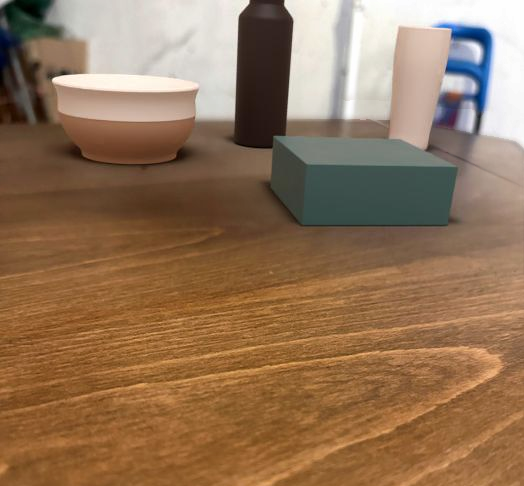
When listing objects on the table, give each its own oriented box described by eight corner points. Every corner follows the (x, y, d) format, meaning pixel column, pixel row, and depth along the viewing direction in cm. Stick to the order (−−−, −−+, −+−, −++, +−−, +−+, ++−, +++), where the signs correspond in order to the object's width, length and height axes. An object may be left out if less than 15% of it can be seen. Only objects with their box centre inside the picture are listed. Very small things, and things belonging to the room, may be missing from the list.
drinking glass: (436, 149, 92) (457, 29, 85) (426, 156, 86) (447, 28, 80) (389, 143, 94) (405, 25, 88) (375, 149, 89) (391, 25, 82)
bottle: (226, 144, 86) (231, -34, 77) (244, 137, 92) (251, -29, 83) (276, 150, 85) (287, -31, 76) (291, 142, 90) (303, -27, 81)
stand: (393, 189, 69) (400, 139, 67) (447, 225, 57) (458, 166, 55) (270, 187, 66) (273, 135, 64) (301, 225, 55) (306, 163, 53)
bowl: (67, 171, 68) (61, 88, 64) (50, 142, 81) (43, 72, 77) (217, 167, 73) (219, 90, 70) (178, 141, 87) (177, 75, 83)
